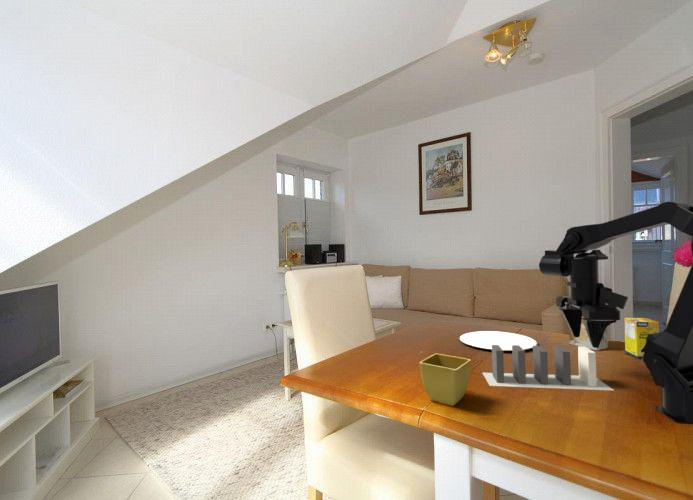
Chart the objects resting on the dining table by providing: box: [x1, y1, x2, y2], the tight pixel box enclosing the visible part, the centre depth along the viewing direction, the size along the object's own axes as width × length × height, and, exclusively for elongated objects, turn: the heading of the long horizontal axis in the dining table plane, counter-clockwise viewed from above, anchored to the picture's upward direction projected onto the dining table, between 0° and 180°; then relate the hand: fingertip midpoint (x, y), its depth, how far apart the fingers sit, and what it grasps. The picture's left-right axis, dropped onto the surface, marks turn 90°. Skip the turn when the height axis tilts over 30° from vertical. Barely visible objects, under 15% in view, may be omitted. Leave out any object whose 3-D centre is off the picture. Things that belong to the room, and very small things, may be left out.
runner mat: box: [482, 372, 615, 391], centre depth 87 cm, size 9×27×1 cm, turn 80°
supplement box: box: [623, 317, 660, 360], centre depth 104 cm, size 6×6×11 cm
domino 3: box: [532, 345, 549, 385], centre depth 87 cm, size 5×2×8 cm, turn 170°
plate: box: [459, 330, 538, 352], centre depth 123 cm, size 25×25×2 cm
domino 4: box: [553, 345, 572, 386], centre depth 86 cm, size 5×2×8 cm, turn 170°
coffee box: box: [568, 316, 609, 351], centre depth 116 cm, size 9×6×16 cm
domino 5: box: [577, 346, 597, 386], centre depth 85 cm, size 5×2×8 cm, turn 170°
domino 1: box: [491, 345, 505, 383], centre depth 89 cm, size 5×2×8 cm, turn 170°
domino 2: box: [511, 345, 527, 384], centre depth 88 cm, size 5×2×8 cm, turn 170°
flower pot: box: [418, 352, 472, 407], centre depth 78 cm, size 9×9×9 cm
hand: (585, 342), depth 85 cm, fingers open, 9 cm apart
